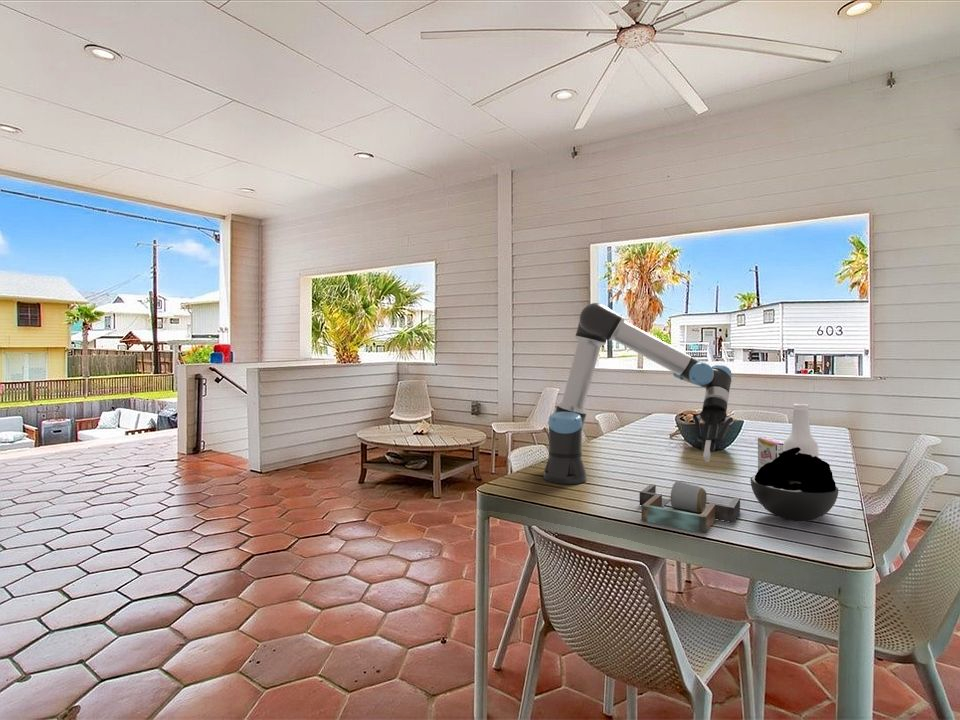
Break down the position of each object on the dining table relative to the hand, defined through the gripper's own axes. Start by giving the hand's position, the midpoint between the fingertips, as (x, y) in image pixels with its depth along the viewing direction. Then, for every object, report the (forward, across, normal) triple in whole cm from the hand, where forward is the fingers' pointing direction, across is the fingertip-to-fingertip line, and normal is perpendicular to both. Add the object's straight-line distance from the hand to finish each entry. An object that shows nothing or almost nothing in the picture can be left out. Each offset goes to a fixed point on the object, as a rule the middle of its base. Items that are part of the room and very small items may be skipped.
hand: (706, 459), depth 157 cm
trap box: (+26, +1, +11) cm, 28 cm away
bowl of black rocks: (+18, -24, +2) cm, 30 cm away
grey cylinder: (+22, +1, +6) cm, 23 cm away
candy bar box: (-4, -17, -20) cm, 27 cm away
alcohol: (+6, -25, -10) cm, 28 cm away
